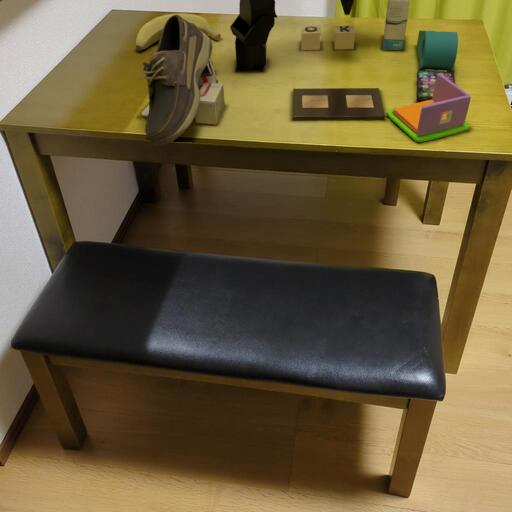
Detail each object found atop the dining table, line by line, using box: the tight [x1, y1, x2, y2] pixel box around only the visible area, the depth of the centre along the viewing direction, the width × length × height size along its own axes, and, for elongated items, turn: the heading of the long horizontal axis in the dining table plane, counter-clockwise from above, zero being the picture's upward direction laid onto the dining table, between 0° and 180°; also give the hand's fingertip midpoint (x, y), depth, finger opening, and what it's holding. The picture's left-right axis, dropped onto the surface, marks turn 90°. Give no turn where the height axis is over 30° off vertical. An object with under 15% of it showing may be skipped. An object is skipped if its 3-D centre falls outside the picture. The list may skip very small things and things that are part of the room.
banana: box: [135, 12, 221, 51], centre depth 145 cm, size 14×6×20 cm
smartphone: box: [416, 67, 456, 103], centre depth 122 cm, size 8×1×15 cm
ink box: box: [382, 0, 411, 51], centre depth 137 cm, size 8×5×12 cm, turn 168°
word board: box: [292, 87, 386, 121], centre depth 119 cm, size 18×12×1 cm, turn 87°
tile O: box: [300, 25, 322, 51], centre depth 140 cm, size 4×4×4 cm
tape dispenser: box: [416, 30, 459, 70], centre depth 130 cm, size 7×15×8 cm, turn 172°
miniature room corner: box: [386, 74, 472, 143], centre depth 110 cm, size 12×12×7 cm
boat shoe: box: [141, 15, 213, 147], centre depth 111 cm, size 11×29×11 cm
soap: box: [141, 104, 149, 118], centre depth 121 cm, size 10×4×1 cm, turn 163°
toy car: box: [199, 57, 219, 91], centre depth 126 cm, size 8×18×8 cm, turn 10°
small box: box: [194, 82, 226, 126], centre depth 116 cm, size 5×4×8 cm
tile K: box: [333, 25, 356, 50], centre depth 140 cm, size 4×4×4 cm
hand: (345, 7), depth 135 cm, fingers open, 9 cm apart
